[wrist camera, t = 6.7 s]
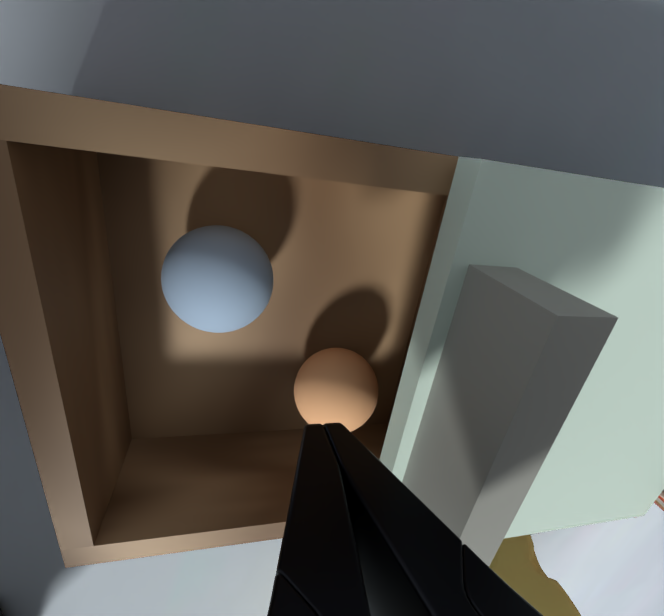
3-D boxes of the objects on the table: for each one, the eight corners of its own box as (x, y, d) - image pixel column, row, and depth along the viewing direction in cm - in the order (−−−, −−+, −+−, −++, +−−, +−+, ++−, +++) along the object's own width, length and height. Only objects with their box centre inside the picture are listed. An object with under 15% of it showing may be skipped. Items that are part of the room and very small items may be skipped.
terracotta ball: (286, 397, 14) (295, 457, 12) (292, 332, 13) (305, 382, 10) (357, 395, 15) (381, 450, 12) (369, 333, 14) (399, 379, 11)
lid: (359, 536, 12) (394, 657, 9) (458, 156, 7) (595, 171, 4) (625, 498, 15) (711, 580, 12) (820, 213, 10) (1036, 244, 8)
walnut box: (116, 440, 14) (65, 567, 10) (67, 99, 9) (-73, 72, 5) (392, 424, 17) (440, 516, 13) (462, 160, 13) (574, 174, 8)
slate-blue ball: (173, 303, 12) (154, 353, 9) (168, 210, 10) (144, 236, 8) (266, 306, 12) (273, 353, 10) (272, 220, 11) (282, 246, 9)
